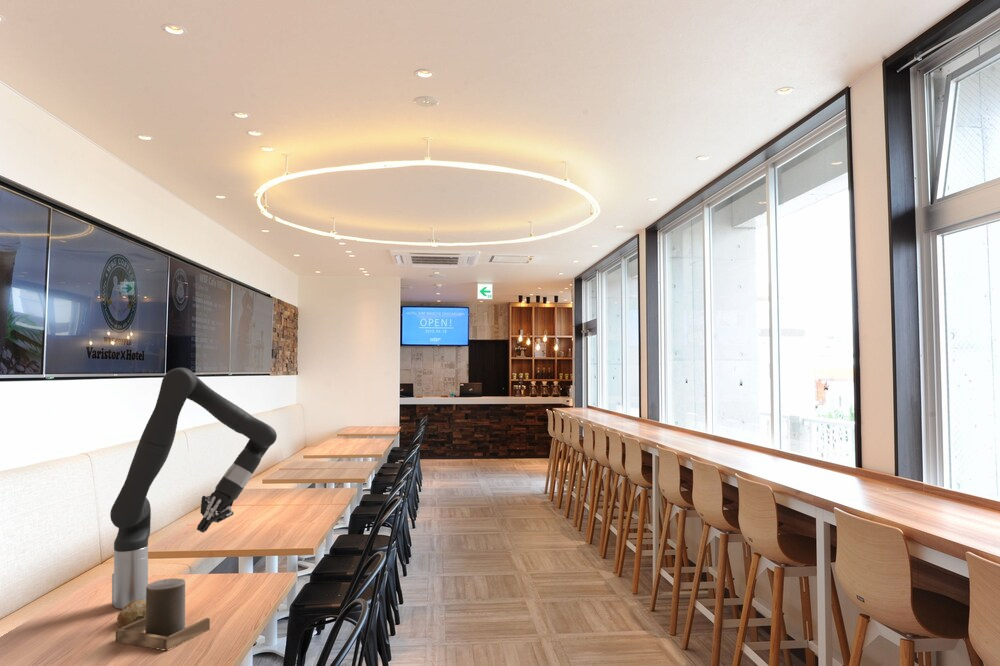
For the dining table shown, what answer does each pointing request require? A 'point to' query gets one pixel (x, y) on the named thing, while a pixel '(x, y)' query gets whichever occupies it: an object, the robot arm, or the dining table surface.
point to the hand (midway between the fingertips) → (200, 531)
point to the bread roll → (132, 613)
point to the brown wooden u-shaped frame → (136, 637)
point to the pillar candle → (165, 607)
